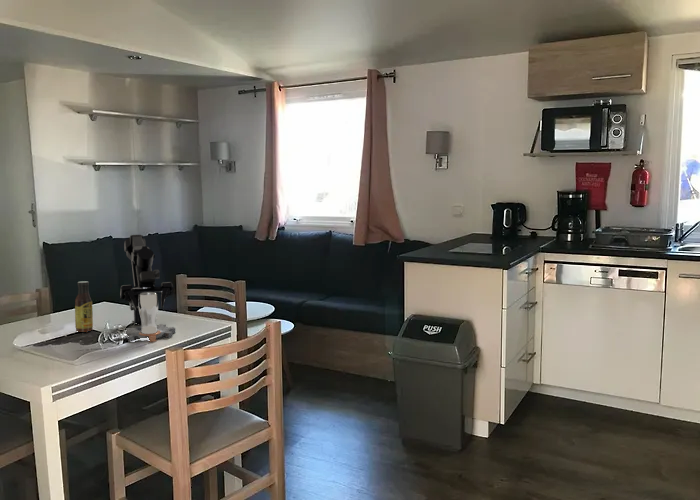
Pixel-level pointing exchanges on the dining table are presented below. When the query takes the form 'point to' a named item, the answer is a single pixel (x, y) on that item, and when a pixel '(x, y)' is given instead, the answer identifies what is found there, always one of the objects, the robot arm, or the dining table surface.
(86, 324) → the sauce bottle
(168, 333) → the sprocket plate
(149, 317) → the beer glass
